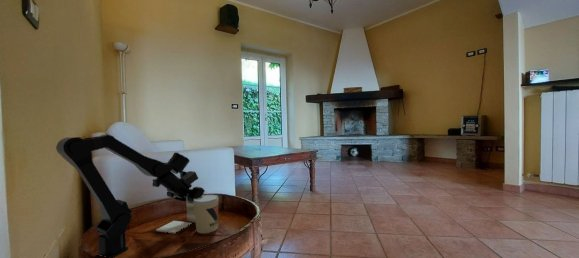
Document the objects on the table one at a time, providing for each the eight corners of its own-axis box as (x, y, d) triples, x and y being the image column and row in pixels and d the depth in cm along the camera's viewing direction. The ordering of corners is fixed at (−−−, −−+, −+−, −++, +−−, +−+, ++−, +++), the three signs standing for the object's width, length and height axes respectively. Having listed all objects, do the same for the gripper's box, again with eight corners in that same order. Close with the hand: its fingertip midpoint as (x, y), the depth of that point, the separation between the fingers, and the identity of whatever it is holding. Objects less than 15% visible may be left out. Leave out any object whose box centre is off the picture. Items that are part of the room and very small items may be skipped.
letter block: (194, 222, 103) (193, 191, 103) (187, 220, 106) (185, 189, 106) (205, 218, 107) (203, 188, 107) (197, 216, 110) (195, 187, 110)
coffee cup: (212, 235, 91) (210, 202, 91) (189, 233, 93) (187, 201, 92) (224, 224, 100) (222, 194, 100) (202, 223, 102) (201, 194, 102)
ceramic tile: (174, 233, 93) (174, 232, 93) (156, 231, 96) (156, 229, 96) (191, 224, 102) (191, 222, 102) (173, 221, 105) (173, 220, 105)
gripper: (199, 167, 98) (222, 189, 107) (172, 164, 108) (195, 184, 117) (181, 193, 91) (208, 213, 101) (154, 187, 102) (181, 206, 111)
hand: (198, 202), depth 108 cm, fingers closed on letter block, 5 cm apart
